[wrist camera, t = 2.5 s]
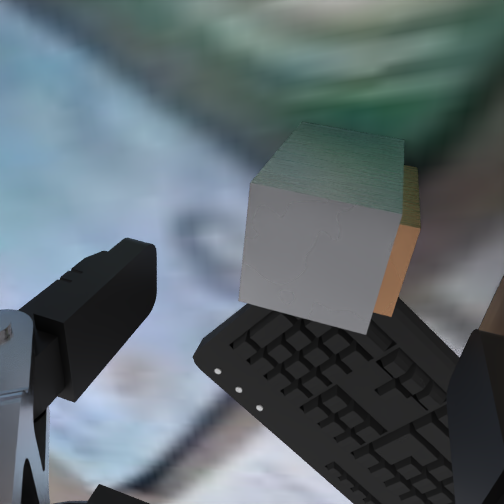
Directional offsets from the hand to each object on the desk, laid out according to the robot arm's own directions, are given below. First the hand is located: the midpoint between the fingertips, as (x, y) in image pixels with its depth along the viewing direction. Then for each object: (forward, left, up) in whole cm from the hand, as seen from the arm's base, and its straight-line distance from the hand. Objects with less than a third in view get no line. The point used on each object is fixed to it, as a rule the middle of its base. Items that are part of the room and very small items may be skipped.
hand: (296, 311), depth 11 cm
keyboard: (+15, +9, -10) cm, 20 cm away
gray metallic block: (0, 0, -9) cm, 9 cm away
